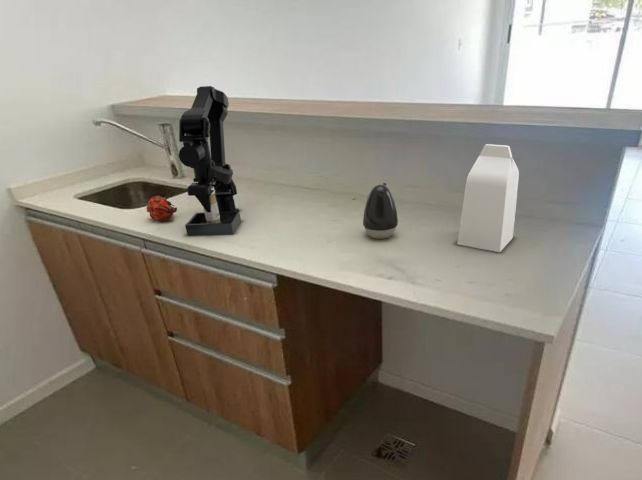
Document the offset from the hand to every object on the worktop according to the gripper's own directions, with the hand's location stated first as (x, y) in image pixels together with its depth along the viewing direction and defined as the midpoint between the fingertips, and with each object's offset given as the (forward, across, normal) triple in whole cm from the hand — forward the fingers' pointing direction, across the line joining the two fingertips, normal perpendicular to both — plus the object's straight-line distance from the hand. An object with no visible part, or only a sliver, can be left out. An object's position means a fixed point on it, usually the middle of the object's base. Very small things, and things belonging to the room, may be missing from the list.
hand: (211, 209), depth 147 cm
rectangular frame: (+6, 0, 0) cm, 6 cm away
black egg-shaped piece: (+7, -11, -53) cm, 55 cm away
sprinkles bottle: (+6, 0, 0) cm, 6 cm away
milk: (+7, -18, -82) cm, 85 cm away
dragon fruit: (+6, +11, +21) cm, 24 cm away
